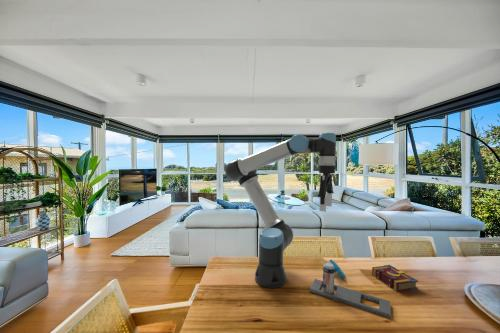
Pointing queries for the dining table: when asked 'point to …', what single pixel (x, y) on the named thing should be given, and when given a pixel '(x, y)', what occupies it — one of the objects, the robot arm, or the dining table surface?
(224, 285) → the dining table surface
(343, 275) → the gear
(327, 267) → the beer can
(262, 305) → the dining table surface
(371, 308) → the rail
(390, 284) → the decorative book
